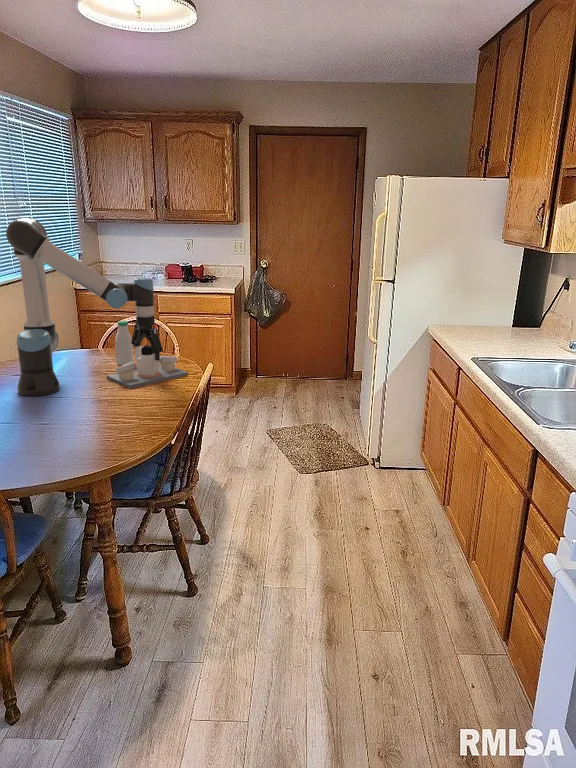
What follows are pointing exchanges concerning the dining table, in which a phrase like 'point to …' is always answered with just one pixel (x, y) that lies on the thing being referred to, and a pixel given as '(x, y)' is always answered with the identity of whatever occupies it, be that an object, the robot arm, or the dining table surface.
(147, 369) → the medicine bottle
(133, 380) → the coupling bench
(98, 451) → the dining table surface
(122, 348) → the milk bottle
